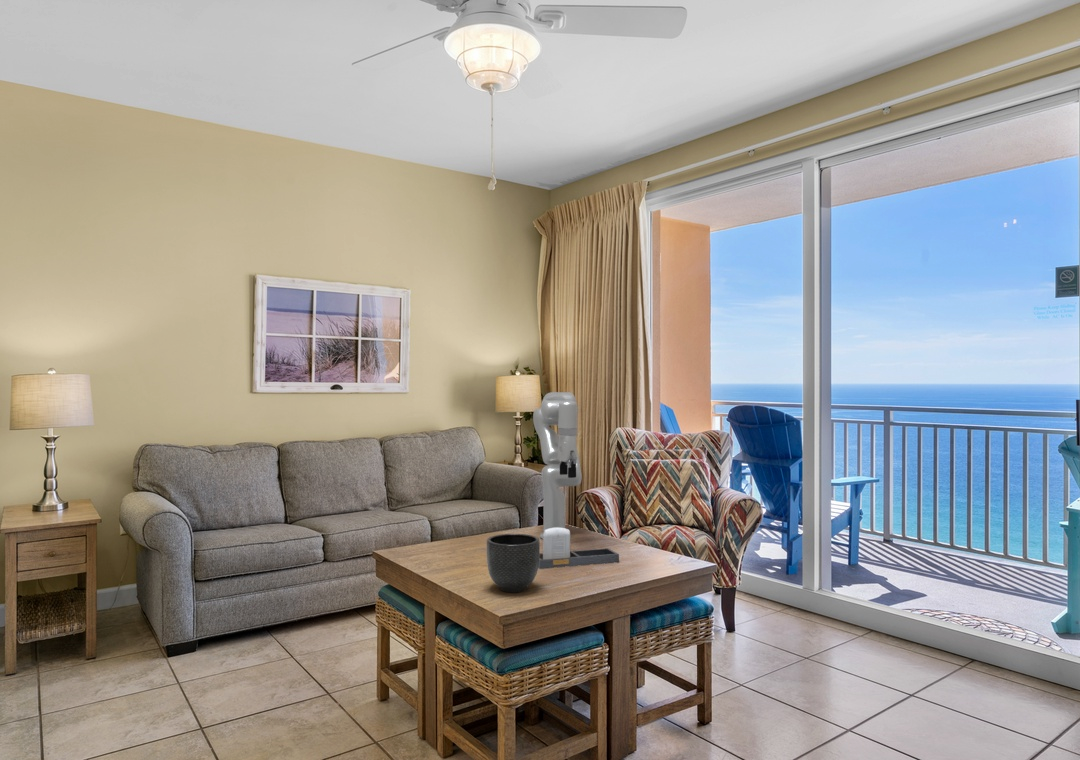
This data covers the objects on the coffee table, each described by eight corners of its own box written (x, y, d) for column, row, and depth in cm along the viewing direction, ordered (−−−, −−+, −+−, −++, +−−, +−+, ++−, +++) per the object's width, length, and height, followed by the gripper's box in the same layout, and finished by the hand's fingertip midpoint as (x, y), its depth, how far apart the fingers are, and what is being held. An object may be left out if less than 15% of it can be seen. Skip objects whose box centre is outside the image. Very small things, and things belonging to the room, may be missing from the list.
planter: (515, 578, 231) (515, 531, 231) (550, 589, 218) (550, 539, 219) (475, 588, 219) (475, 538, 219) (510, 600, 207) (510, 547, 207)
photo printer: (568, 559, 253) (569, 526, 253) (571, 562, 249) (571, 528, 249) (541, 560, 251) (542, 527, 251) (544, 563, 247) (544, 529, 247)
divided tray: (531, 562, 252) (531, 553, 252) (608, 555, 261) (608, 548, 261) (540, 569, 242) (540, 560, 242) (619, 562, 252) (619, 554, 252)
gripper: (551, 431, 274) (551, 473, 273) (566, 434, 257) (566, 479, 257) (569, 431, 276) (569, 473, 276) (584, 433, 259) (584, 478, 259)
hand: (567, 476), depth 266 cm, fingers open, 9 cm apart
